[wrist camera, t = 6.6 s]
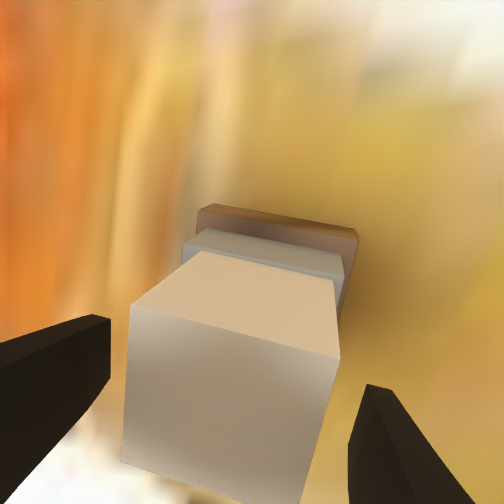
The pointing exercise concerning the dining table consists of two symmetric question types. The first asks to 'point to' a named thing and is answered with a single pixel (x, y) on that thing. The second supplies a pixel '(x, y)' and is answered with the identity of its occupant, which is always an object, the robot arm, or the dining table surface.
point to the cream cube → (230, 377)
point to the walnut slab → (284, 233)
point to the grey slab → (269, 254)
